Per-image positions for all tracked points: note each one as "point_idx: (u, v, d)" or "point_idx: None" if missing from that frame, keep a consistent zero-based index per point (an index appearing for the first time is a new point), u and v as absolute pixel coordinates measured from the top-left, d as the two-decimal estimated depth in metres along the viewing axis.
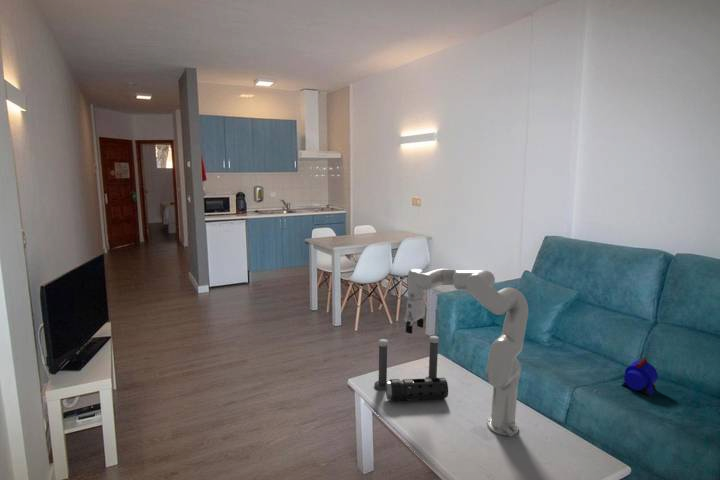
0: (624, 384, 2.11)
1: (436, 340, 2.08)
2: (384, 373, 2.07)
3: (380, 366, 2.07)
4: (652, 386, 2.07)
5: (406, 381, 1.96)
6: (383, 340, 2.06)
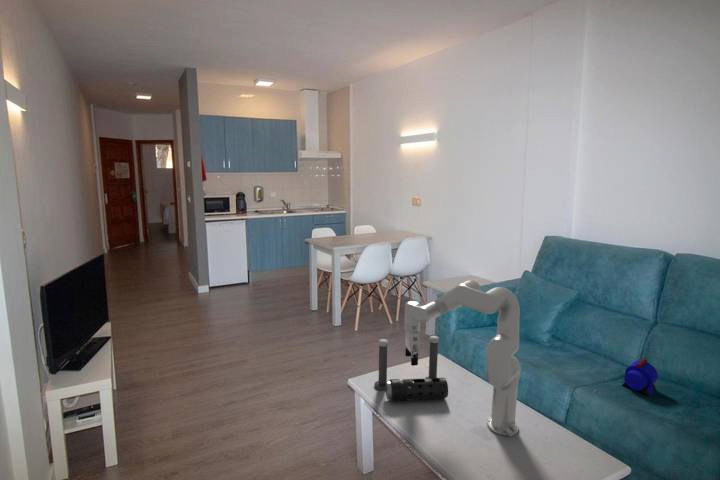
0: (624, 384, 2.11)
1: (436, 340, 2.08)
2: (384, 373, 2.07)
3: (380, 366, 2.07)
4: (652, 386, 2.07)
5: (406, 381, 1.96)
6: (383, 340, 2.06)
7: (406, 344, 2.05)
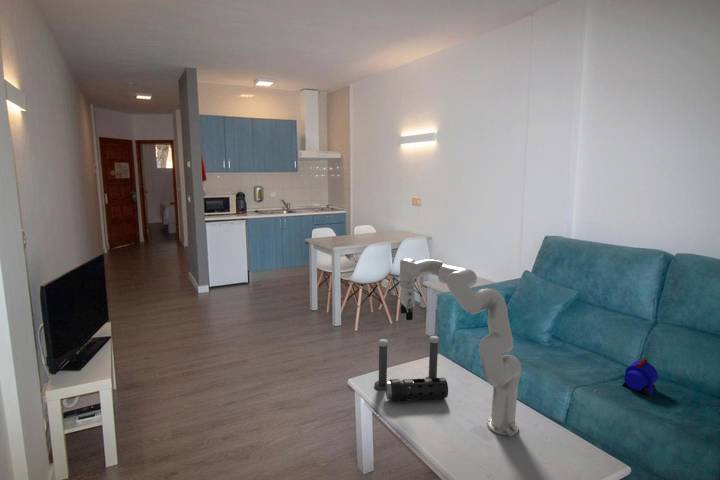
0: (624, 384, 2.11)
1: (436, 340, 2.08)
2: (384, 373, 2.07)
3: (380, 366, 2.07)
4: (652, 386, 2.07)
5: (406, 381, 1.96)
6: (383, 340, 2.06)
7: (401, 300, 2.12)
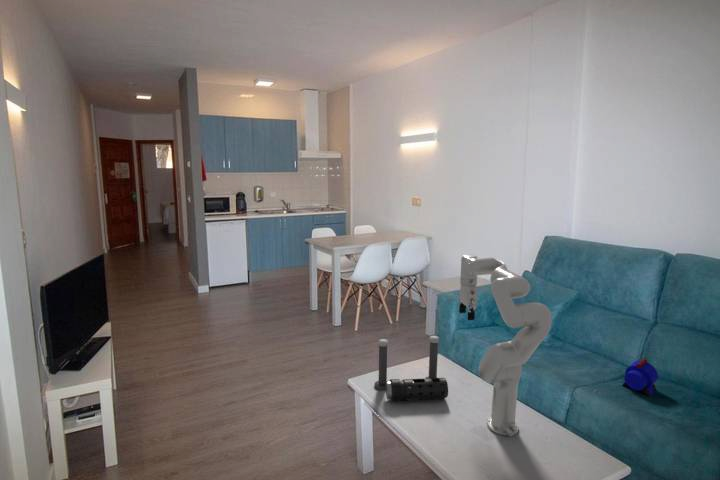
0: (624, 384, 2.11)
1: (436, 340, 2.08)
2: (384, 373, 2.07)
3: (380, 366, 2.07)
4: (652, 386, 2.07)
5: (406, 381, 1.96)
6: (383, 340, 2.06)
7: (461, 299, 2.00)
